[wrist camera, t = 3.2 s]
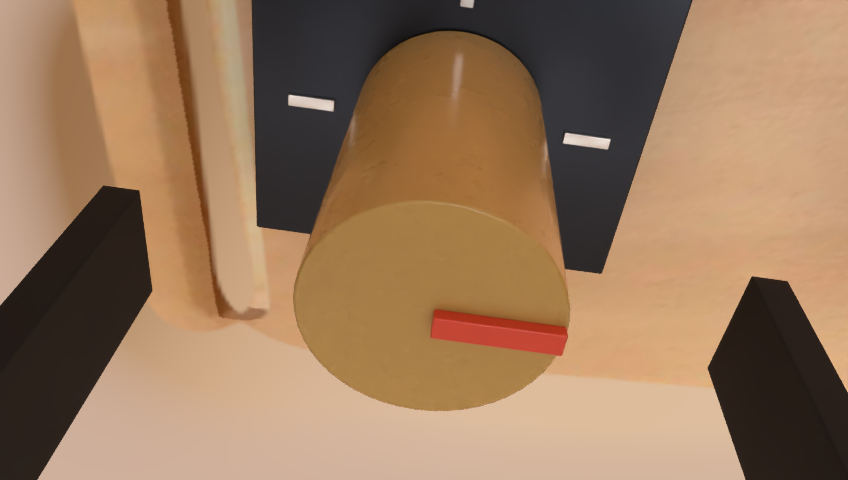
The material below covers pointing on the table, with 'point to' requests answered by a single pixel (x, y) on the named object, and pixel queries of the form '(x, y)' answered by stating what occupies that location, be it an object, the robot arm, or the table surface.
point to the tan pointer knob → (438, 233)
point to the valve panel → (501, 23)
